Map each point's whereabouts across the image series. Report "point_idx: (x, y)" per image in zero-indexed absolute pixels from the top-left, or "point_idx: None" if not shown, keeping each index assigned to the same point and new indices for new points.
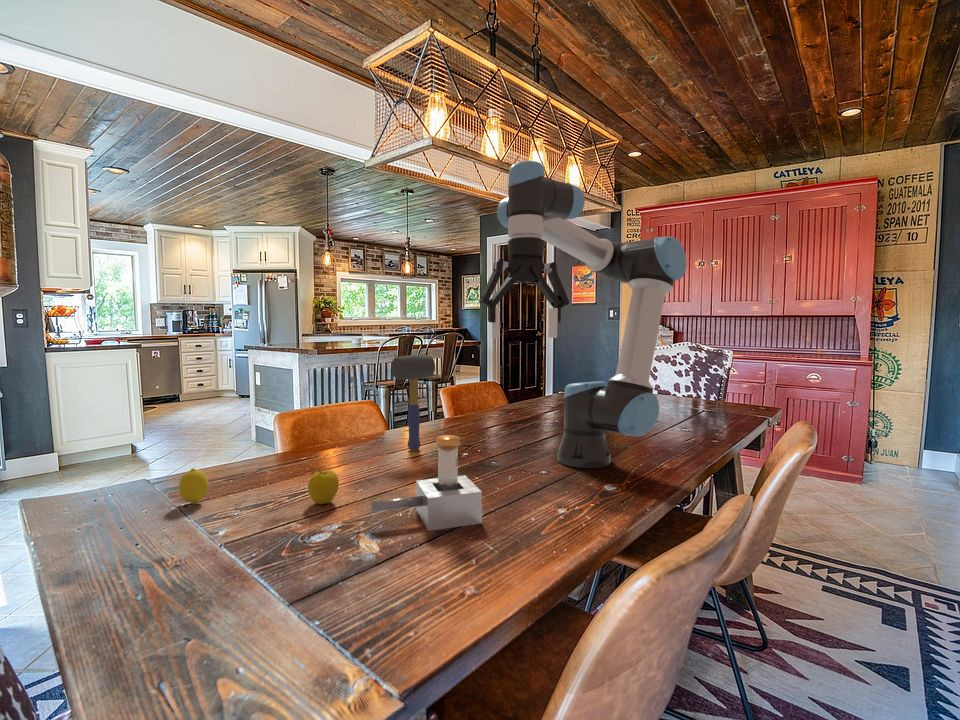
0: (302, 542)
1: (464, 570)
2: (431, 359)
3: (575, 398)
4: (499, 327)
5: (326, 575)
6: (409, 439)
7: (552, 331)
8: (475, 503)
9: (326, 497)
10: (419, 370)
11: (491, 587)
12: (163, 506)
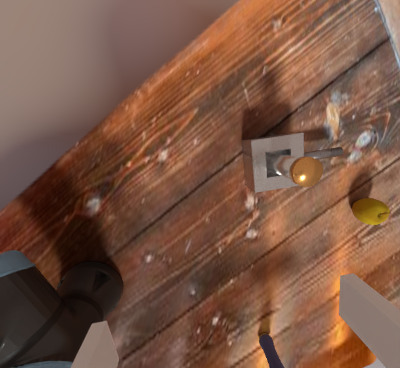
0: (376, 131)
1: (274, 56)
2: None
3: (66, 352)
4: (382, 311)
5: (365, 73)
6: (273, 345)
7: (99, 362)
8: (253, 139)
9: (362, 199)
10: None
11: (262, 25)
12: None
